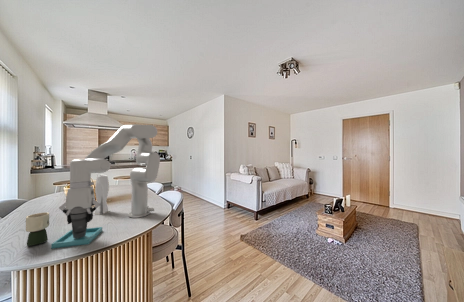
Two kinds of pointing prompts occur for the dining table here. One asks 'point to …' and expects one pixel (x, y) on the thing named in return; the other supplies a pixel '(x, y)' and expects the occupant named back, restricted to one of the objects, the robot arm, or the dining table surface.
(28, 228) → the character mug
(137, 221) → the dining table surface
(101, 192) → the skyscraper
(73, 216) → the beverage cup
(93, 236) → the tray
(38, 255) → the dining table surface
